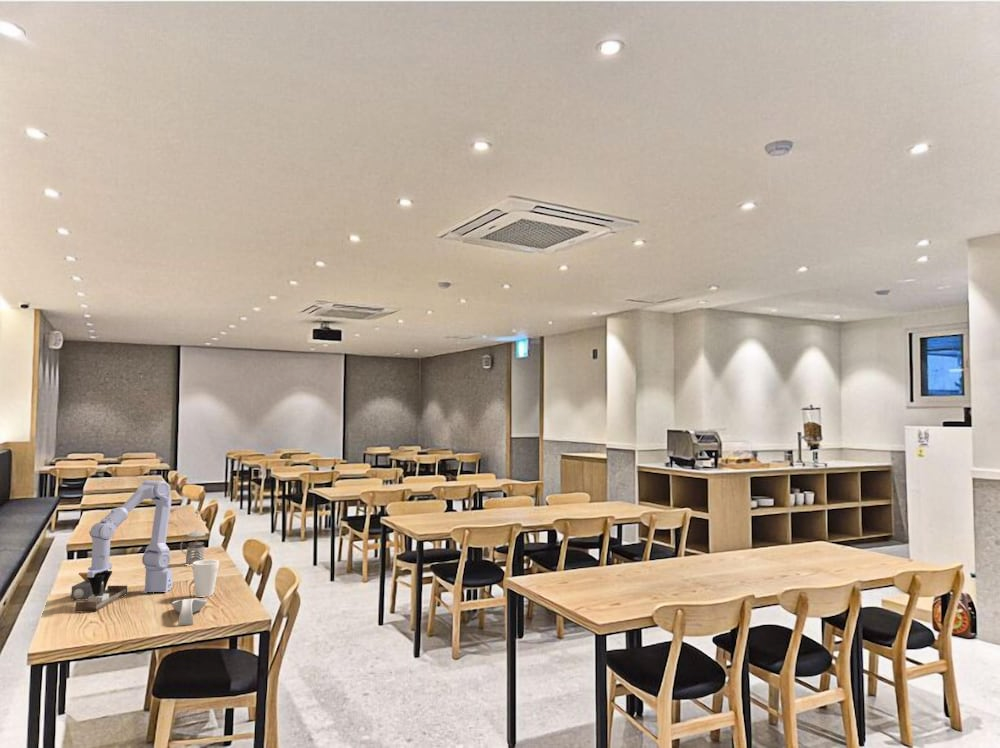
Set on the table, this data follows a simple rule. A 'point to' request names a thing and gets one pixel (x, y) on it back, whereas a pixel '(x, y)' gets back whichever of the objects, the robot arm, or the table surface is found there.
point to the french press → (192, 546)
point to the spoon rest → (188, 609)
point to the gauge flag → (84, 576)
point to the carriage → (99, 595)
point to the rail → (93, 606)
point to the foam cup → (205, 576)
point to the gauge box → (81, 590)
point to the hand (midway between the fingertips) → (98, 592)
